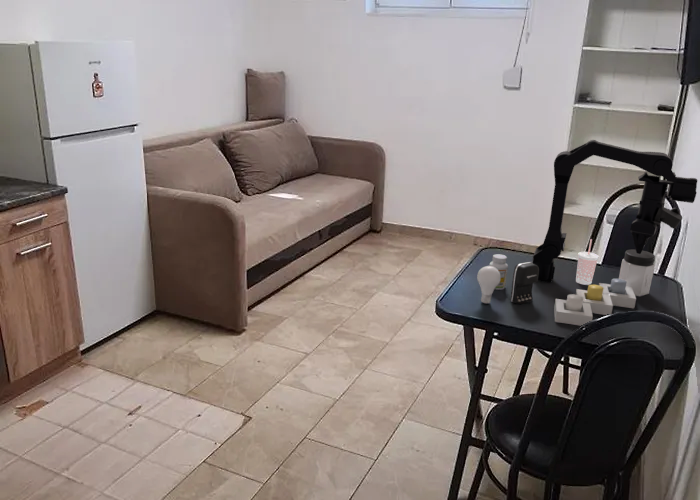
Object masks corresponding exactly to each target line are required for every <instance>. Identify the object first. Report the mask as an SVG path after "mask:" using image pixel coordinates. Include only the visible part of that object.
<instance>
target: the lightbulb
mask: <svg viewBox="0 0 700 500" xmlns="http://www.w3.org/2000/svg"><path fill="white" fill-rule="evenodd" d="M476 277H477V278H476V279H477V283H478V284H479V286H480V291H481V298H480V301H481V302H482V303H483V304H485V305H487V304H490V303H491V302H492V294H493V293H494V291H495V288H496V286H497V285H498V284H499V283H500V280H501V275H500V272H499V271H498V269H496V268H495V267H493V266H489V265H486V266H483V267H481V268H480V269H479V270H478V272H477V276H476Z"/></svg>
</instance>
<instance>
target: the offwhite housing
mask: <svg viewBox="0 0 700 500" xmlns="http://www.w3.org/2000/svg"><path fill="white" fill-rule="evenodd" d="M566 302H567V299H559V298H555V301H554V306H553V312H554V322H555V323H562V324H569V325H575V326H581V325H583V324H585V323H587V322H589V321H592V322H593V313H592V311H591V306H590V304H589V303H582V309H581V312H577V311H570V310H565V308H566ZM581 327H582V326H581Z"/></svg>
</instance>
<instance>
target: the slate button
mask: <svg viewBox="0 0 700 500" xmlns="http://www.w3.org/2000/svg"><path fill="white" fill-rule="evenodd" d="M610 281H611V282H610V284H611V286H610V291H609V292H610V293H617V294H624V293H625V288H626V283H627V282H626V281H625V280H622V279H619V278H612V279H611V280H610Z"/></svg>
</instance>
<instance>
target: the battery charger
mask: <svg viewBox="0 0 700 500" xmlns="http://www.w3.org/2000/svg"><path fill="white" fill-rule="evenodd" d="M538 275H539V267H538V266H537V265H535V264H533V263H532V261H527V262H520V263H518V264H516V265H515V266H514V269H513V276H512V283H511V293H510V299H509V300H510V302H511V303H514V304H516V305H522V304H528V303H531V302H533V300H534V299H533V293H532V291H533V286H534V284H535V283H538V282H539V281H538Z"/></svg>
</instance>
